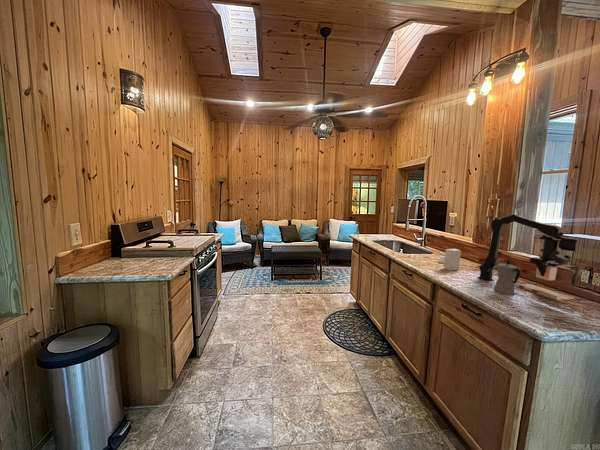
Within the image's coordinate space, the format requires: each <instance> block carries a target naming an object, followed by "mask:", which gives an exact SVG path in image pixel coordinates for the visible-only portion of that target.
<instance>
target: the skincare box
mask: <svg viewBox="0 0 600 450" xmlns="http://www.w3.org/2000/svg"><path fill="white" fill-rule="evenodd" d="M461 254H462V250H460V249H457V248H446V249H445V254H444V256H445V262H444V263H443V269H445V270H447V271H459V270H460V262H461Z"/></svg>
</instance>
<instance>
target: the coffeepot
mask: <svg viewBox="0 0 600 450" xmlns="http://www.w3.org/2000/svg"><path fill="white" fill-rule="evenodd" d="M505 261H506V262H505V263H500V264H497V267H496V271H497V277H498V278H497V279H496V283H495V286H494V288H493V290H494V291H495V292H496V293H498V294H502V295H507V296H512V295H515V286H514V283H517V281H518V280H519V278H520V276H521V271H520V269H519V267H518V266H515V265H513V264H511V263H510V262H511V261H510V260H505Z"/></svg>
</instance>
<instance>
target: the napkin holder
mask: <svg viewBox="0 0 600 450" xmlns="http://www.w3.org/2000/svg"><path fill="white" fill-rule="evenodd" d="M444 262H445V255H444V256H443V255H439V263H440V264H444Z"/></svg>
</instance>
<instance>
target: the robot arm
mask: <svg viewBox="0 0 600 450" xmlns="http://www.w3.org/2000/svg"><path fill="white" fill-rule="evenodd" d="M514 222H515V223H517V224H521V225H523V226H525V227H529V228H531V229H535V230H537V231H538V232H540V233H542V234H543V235H541V236H540V237H539V239H541V240H543V244H542V245H543V246H542V248H540V251H541V255H540V256H539V257H534V256H533V257H531V258H529V263H532V264H535V265H536V269H537V268H538V270H539V272H540V274H541V276H544V274H545V271H546V268H547V267H548V266H553V267H557V268H558V267H559V266H564V265H565V266H566V265H568V263H571V262H572V261H571V260H572V259H571V258H572V257H571V256H570V255H569V254H566V255H563V254H560V251H559V250H558V248H559V249H560V250H561V251H566V252H573V253H575V252H576V253H577V252H578V249H579V239H578V238H569V237H566V236H565V235H564V233H563V232H562V228H561V227H560V226H559V225H556V224H550V223H544V222H543V223H542V222H539V221H536V220H533V219H530V218H528V217H523V216H521V215H519V214H510V215H509V216H505V217H502V218H495V219H492V220H491V223H490V225H491V231H492V233H491V239H490V244H489V245H490V246H489V251H488V255H487V256H486V258H485V259H484V262H483V263H482V264H481V265H479V266H478V269H479V270H480V273H479V276H477V277H476V278H478V279H480V280H483V281H486V282H488V281H490V282H491V281H494V280H495V279H493V273H494V270H495V268H496V269H497V264H501V263H500V262H501V258H499V257H498V253H499V249H500V242H501V238H502V237H501V236H502V234H503V232H504V230H505V228H506V226H507V225H509V224H512V223H514Z"/></svg>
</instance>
